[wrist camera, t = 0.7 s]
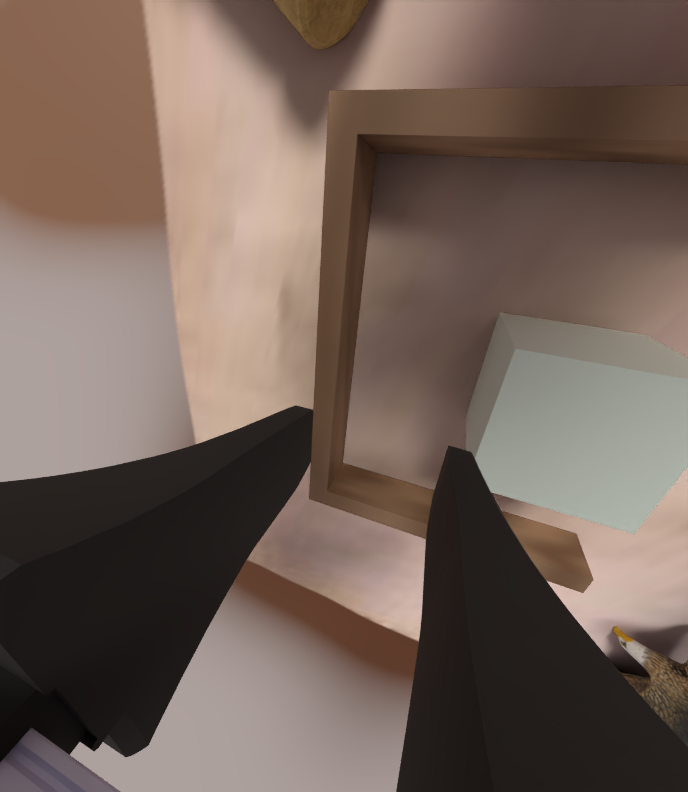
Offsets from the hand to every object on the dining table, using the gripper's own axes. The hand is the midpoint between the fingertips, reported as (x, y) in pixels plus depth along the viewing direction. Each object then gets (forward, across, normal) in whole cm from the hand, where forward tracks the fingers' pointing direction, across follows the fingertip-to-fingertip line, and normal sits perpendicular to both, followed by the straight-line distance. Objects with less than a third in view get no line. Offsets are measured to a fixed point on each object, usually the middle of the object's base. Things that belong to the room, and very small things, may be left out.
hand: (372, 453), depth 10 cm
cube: (+10, -6, 0) cm, 12 cm away
